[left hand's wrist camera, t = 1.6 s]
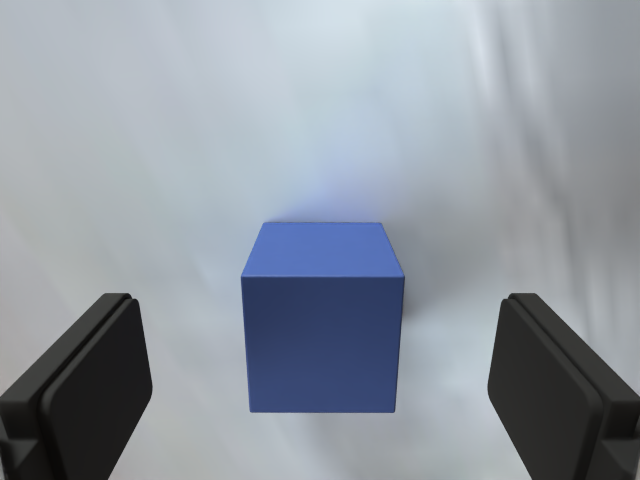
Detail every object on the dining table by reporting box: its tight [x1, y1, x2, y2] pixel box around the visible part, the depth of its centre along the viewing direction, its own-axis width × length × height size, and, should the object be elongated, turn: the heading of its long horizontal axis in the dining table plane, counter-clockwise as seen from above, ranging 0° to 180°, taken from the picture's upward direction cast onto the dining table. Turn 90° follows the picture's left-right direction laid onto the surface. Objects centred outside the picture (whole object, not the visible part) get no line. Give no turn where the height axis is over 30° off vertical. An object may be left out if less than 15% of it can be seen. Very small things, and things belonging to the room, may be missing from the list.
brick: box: [241, 223, 405, 413], centre depth 14 cm, size 4×4×4 cm
